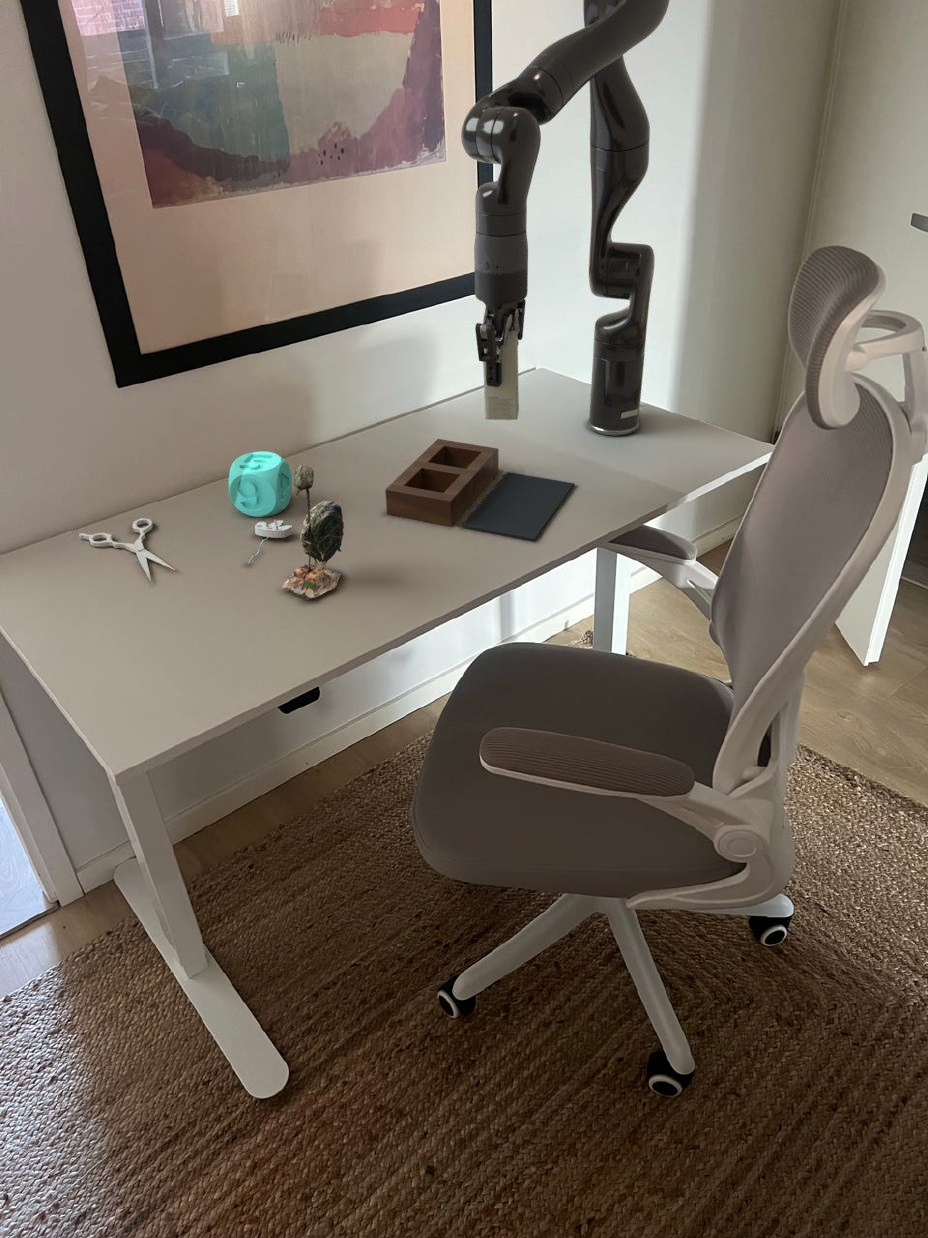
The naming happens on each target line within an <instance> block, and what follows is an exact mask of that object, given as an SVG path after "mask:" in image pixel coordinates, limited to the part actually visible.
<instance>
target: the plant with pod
mask: <svg viewBox="0 0 928 1238" xmlns="http://www.w3.org/2000/svg"><path fill="white" fill-rule="evenodd" d="M314 472H315V471H314V469H313V467H312V466H310V465H308V464H303V463H301V464H299V465H296V466H295V469H294V474H293V486H294V487H295V488H296V491H295V497H296V498H298V497H299V493H300V492H302V491H304V490H305V492H306V502H307V503H306V504H307V513H306V515H305V517H304V520H303V522H302V527H301V532H300V536H299V537H300V540H301V546H302V550H303V552H304V554H306V555H307V556H308V563H307V564H302V565H300V566H299V567H297V568H296V569H295V570H294V571H293V573H292V574H290V576H287V577H286V580H285V581H284V583H283V585H282V586H281V588H282V590H290V592H293V593H296V596H299V597H300V596H301V598H302V599H304V600H307V601H308V600H312V599H315V598H317V597H320V596H322V595H323V594H325V593H326V592H329V591H332V590H333V589H335V588H336V587H337V585H338V583H339V579H340V578H341V574H342V573H343V572H341V571H334V570H329V569H326V568H325V567H326V565H327V563H328V562H329V560H331V559H332V558H333V557H334V555H335V554H336V552H337V551H338V552H339V553H342V550H341V547H342V543H343V542H342V541H343V538H344V536H345V535H344V534H345V533H344V529H345V524H344V523H345V522H344V517H343V510H342V506H341V505H340V504H342V503H343V501H342V500H341V501H340V504H339V503H337V502H336V501H331V500H322V501H321V502H319V503H318V504H317V505H315V506H313V507H312V508H311V504H310V503H311V500H310V498H311V496H310V495H311V494H310V489H312V488H313V485H314V481H315V479H314ZM312 558H313V560H314V564H312V563H311V562H312V561H311V559H312Z"/></svg>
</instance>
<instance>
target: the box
mask: <svg viewBox="0 0 928 1238" xmlns="http://www.w3.org/2000/svg"><path fill="white" fill-rule="evenodd" d="M495 339H496V340H497V341H499V340H501V338H499V337H495ZM518 343H519V340H518V338H517V331H514V330H513V329H511V331H510V332H509V333H508V341H507V345H506V346H505V347H504V348H503V354H502V361H501V362H502V384H501V385H500V386H499V387H492V386H488V385H487V384H486V362H482V365H483V366H482V368H483V369H482V373H483V396H484V397H483V399H484V400H483V401H484V419H485V420H487V421H488V420H489V421H490V420H492V421H498V420H499V421H500V420H501V421H502V420H503V421H512V420H513V421H516V420H518V417H519V411H520V406H519V405H520V402H519V395H520V394H519V344H518ZM496 349H497V346H496ZM484 350H485V349H484Z"/></svg>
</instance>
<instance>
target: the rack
mask: <svg viewBox="0 0 928 1238" xmlns="http://www.w3.org/2000/svg"><path fill="white" fill-rule="evenodd" d="M498 473H499V448H497V447H492V446H491V447H490V446H485V445H479V444H474V443H467V442H460V441H453V440H448V439H441V438H437V439H436V440H435V441H434V442H433V443H432V444H431V445H430V446H429V447H428V448H427V449H426V450H424V451H423V452H422V453H421V455H419V456H418V457H417V458H416V459H415V460H414V461H413V462H412V463H411V464H410V465H409V466H408V467H407V468H405V470H404V471H403V472H402V473H401V474H399V476H398V477H396V479H394V480H393V481H392V482H391V483H390V484H389V485H387V487H386V488H385V492H384V493H385V505H386V515H390V516H395V517H400V518H405V519H409V520H410V519H411V520H414V521H415V520H416V521H420V522H425V523H430V524H431V523H432V524H436V525H442V526H446V527H453V525H454V524H456V522H457V521H458V520H459V518H460V517H461V516H462V515H463V514H464V513H465V512H466V510H467V509H468V508H469V507H470V506H471V504H473V502H474V501H475V500H476V499H477V497H478V496H479V495H480V494H481V493H482V492H483V491H484V490H485V488H486V487H487V486H488V485H489V484H490V483H491V481H492V480H493V479H494V478H495V477H496V476H497V474H498Z"/></svg>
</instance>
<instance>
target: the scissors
mask: <svg viewBox="0 0 928 1238" xmlns="http://www.w3.org/2000/svg"><path fill="white" fill-rule="evenodd" d="M143 524H147V525H146V526H144V527H139V525H143ZM153 526H154V525H153V521H152V520H151V519H150V518H139V519H136V520H135V521H133V522H132V526H131V527H132V530H133V531H132V532H133V533H138V534H139V536H138V538H137V539H136V540H135V541H134V542H133V543H130V542H129V543H128V542H117V541H114V540H113V535H112V534H110V533H106V532H98V533H94V534H88V533H87V534H86V533H83V532H82V533H81V532H80V533H79V534H78V535H79V539H80V540H87V541H89V544H90V545H91V546H92V547H95V548H97V547H98V548H101V547H102V548H103V547H113V548H115V549H120V548H121V549H126V550H128V551H129V552H131V553H135V554H136V556H137V559H138V562H139V563H140V565H141V567H142V569H143V571H144V572H145V575H146V576H147V578H148V580H149V581H152V579H151V574H150V570H149V569H150V568H149V565H148V559H149V560H150V561H153V562H155V563H158V564H160V565H163V567H167V568H170V569H171V570H173V571H176V569H175V568H173V567H171V565H169V563H168V564H167V562H165V561H163V560H162V559H161V558H159V557H158V556H156V555H155V554H153V553H151V551H149V550H147V549H145V547H144V544H143V541H144V540H145V539H146V535H145V534H147V533H148V532H150V531H151V530H152V529H153ZM98 539H105V540H102V541H95V540H98Z"/></svg>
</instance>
